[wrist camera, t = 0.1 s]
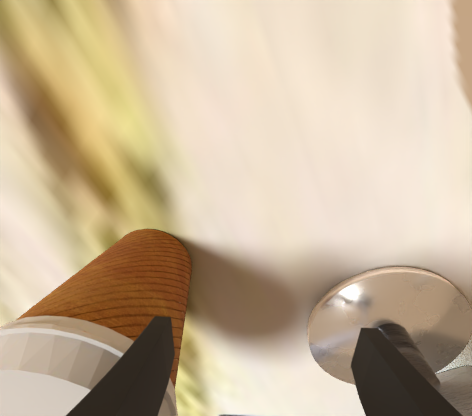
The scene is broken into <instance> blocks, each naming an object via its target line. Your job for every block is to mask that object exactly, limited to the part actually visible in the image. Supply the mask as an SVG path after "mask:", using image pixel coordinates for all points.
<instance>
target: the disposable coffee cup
mask: <svg viewBox="0 0 472 416" xmlns="http://www.w3.org/2000/svg"><path fill="white" fill-rule="evenodd" d="M191 272H192V265H191V259H190V256H189V254H188V252H187V250H186V249H185V247H184V246H183V245H182V244H181V243H180V242H179V241H178V240H177V239H176V238H174V237H172V236H171V235H169V234H167V233H164V232H162V231H158V230H154V229H142V230H136V231H133V232H131V233H129V234H127V235H125V236H124V237H123V238H122V239H121V240H119V241H118V242H117V243H115V244H114V245H113V246H111V247H110V248H109V249H108V250H106V251H105V252H104V253H102V254H101V255H100V256H98V257H97V258H96V259H94V260H93V261H92V262H90V263H89V264H88V265H86V266H85V267H84V268H83V269H81V270H80V271H79V272H78V273H76V274H75V275H73V276H72V277H71V278H70V279H68V280H67V281H66V282H64V283H63V284H62V285H61V286H59V287H58V288H57V289H55V290H54V291H53V292H51V293H50V294H49V295H48V296H46V297H45V298H43V299H42V300H41V301H40V302H38V303H37V304H36V305H34V306H33V307H32V308H31V309H29V310H28V311H27V312H26V313H24V314H23V315H22V316H21V317H19V318H18V319H17V320H15V321H12V322H9V323H7V324H5V325H3V326H1V327H0V416H66V415H67V414H68V413H69V412H70V411H71V410H72V409H73V408H74V407H75V406H76V405H77V404H78V403H79V402H80V401H81V400H82V399H83V398H84V397H85V396H86V395H87V394H88V393H89V392H90V391H91V390H92V388H93V387H94V386H95V385H96V384H97V383H98V382H99V381H100V380H101V379H102V378H103V377H104V376H105V375H106V374H107V373H108V371H109V370H110V369H111V368H112V367H113V366H114V365H115V363H116V362H117V361H118V360H119V359H120V358H121V357H122V355H123V354H124V353H125V352H126V351H127V350H128V348H129V347H130V346H131V345H132V344H133V342H134V341H135V340H136V339H137V338H138V336H139V335H140V334H141V333H142V331H143V330H144V329H145V328H146V326H147V325H148V324H149V322H150V321H151V320H152V319H153V318H154V317H155V316H163V317H171V322H172V332H173V341H174V350H175V356H174V361H173V365H172V370H171V374H170V378H169V383H168V386H167V389H166V392H165V395H164V398H163V401H162V404H161V407H160V410H159V413H158V416H178V414H177V407H176V396H175V384H176V377H177V370H178V363H179V356H180V349H181V342H182V335H183V328H184V321H185V313H186V307H187V300H188V293H189V285H190V279H191Z"/></svg>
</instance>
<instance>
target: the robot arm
mask: <svg viewBox="0 0 472 416" xmlns="http://www.w3.org/2000/svg"><path fill="white" fill-rule="evenodd" d="M174 356H175V350H174V341H173V332H172V322H171V317H163V316H155V317H154V318H153V319H152V320H151V321H150V322H149V324H148V325H147V326H146V328H145V329H144V330H143V331H142V333H141V334H140V335H139V336H138V338H137V339H136V340H135V341H134V342H133V344H132V345H131V346H130V347H129V348H128V350H127V351H126V352H125V353H124V354H123V355H122V357H121V358H120V359H119V360H118V361H117V362H116V363H115V365H114V366H113V367H112V368H111V369H110V370H109V371H108V373H107V374H106V375H105V376H104V377H103V378H102V379H101V380H100V381H99V382H98V383H97V384H96V385H95V386H94V387H93V388H92V390H91V391H90V392H89V393H88V394H87V395H86V396H85V397H84V398H83V399H82V400H81V401H80V402H79V403H78V404H77V405H76V406H75V407H74V408H73V409H72V410H71V411H70V412H69V413H68V414H67V415H66V416H158V413H159V410H160V407H161V404H162V401H163V398H164V395H165V392H166V389H167V386H168V383H169V378H170V374H171V370H172V365H173V361H174ZM351 369H352V373H353V376H354V380H355V384H356V388H357V391H358V395H359V398H360V401H361V404H362V406H363V409H364V412H365V414H366V416H463V415H462V414H461V413H459V412H458V411H457V410H456V409H455V408H454V407H453V406H452V405H451V404H450V403H449V402H448V401H447V400H446V399H445V398H444V397H443V396H442V395H441V394H440V393H439V392H438V391H437V390H436V389H435V388H434V387H433V386H432V385H431V384H430V383H429V382H428V381H427V380H426V379H425V378H424V377H423V376H422V375H421V374H420V373H419V372H418V371H417V370H416V369H415V368H414V366H413V365H412V364H411V363H410V362H409V361H408V360H407V359H406V358H405V357H404V356H403V355H402V354H401V353H400V352H399V351H398V349H397V348H396V347H395V346H394V345H393V344H392V343H391V342H390V341H389V340H388V339H387V338H386V337H385V335H384V334H383V333H382V332H381V331H380V330H379V329H378V328H361V330H360V333H359V337H358V340H357V344H356V347H355V351H354V355H353V358H352V362H351Z"/></svg>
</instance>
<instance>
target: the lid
mask: <svg viewBox="0 0 472 416" xmlns="http://www.w3.org/2000/svg"><path fill="white" fill-rule="evenodd" d="M361 328H378V329H379V330H380V331H381V332H382V333H383V334H384V335H385V337H386V338H387V339H388V340H389V341H390V342H391V343H392V344H393V345H394V346H395V347H396V348H397V349H398V351H399V352H400V353H401V354H402V355H403V356H404V357H405V358H406V359H407V360H408V361H409V362H410V363H411V364H412V365H413V366H414V368H415V369H416V370H417V371H418V372H419V373H420V374H421V375H422V376H423V377H424V378H425V379H426V380H427V381H428V382H429V383H430V384H431V385H432V386H433V387H434V388H435V389H436V390H437V391H439V389H440V385H441V384H440V381H439V379H438V378H437V376H436V375H435V373H436V372H438V371H439V370H441V369H442V368H444V367H445V366H447V365H448V364H449V363H451V362H452V361H453V360H454V359H455V358H456V357H457V356H458V355H459V354H460V353H461V352H462V350H463V349H464V348H465V346H466V345H467V343H468V341H469V339H470V336H471V334H472V309H471V307H470V305H469V303H468V301H467V300H466V298H465V297H464V296H463V294H462V293H460V292H459V291H458V290H457V289H456V288H455V287H454V286H453V285H452V284H451V283H450V282H449V281H447V280H446V279H444V278H442V277H441V276H439V275H436V274H434V273H432V272H429V271H426V270H422V269H417V268H411V267H387V268H380V269H374V270H370V271H366V272H363V273H360V274H357V275H355V276H353V277H350V278H348V279H346V280H344V281H343V282H341V283H339V284H338V285H336V286H335V287H333V288H332V289H331V290H329V291H328V292H327V293H326V294H325V295H324V296H323V297H322V298H321V299H320V300H319V302H318V303H317V304H316V305H315V307H314V309H313V311H312V312H311V315H310V317H309V320H308V325H307V337H308V342H309V347H310V350H311V353H312V355H313V357H314V359H315V361H316V362H317V363H318V364H319V366H320V367H321V368H322V369H323V370H325V371H326V372H327V373H329V374H330V375H332V376H333V377H335V378H337V379H339V380H342V381H344V382H347V383H351V384H354V385H356V384H355V380H354V376H353V373H352V369H351V362H352V358H353V355H354V351H355V347H356V344H357V340H358V337H359V333H360V330H361Z"/></svg>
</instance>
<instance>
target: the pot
mask: <svg viewBox="0 0 472 416" xmlns="http://www.w3.org/2000/svg"><path fill="white" fill-rule="evenodd" d="M435 375H436V376H437V378H438V379H439V381H440V384H441V385H440V389H439V391H438V392H439V393H440V394H441V395H442V396H443V397H444V398H445V399H446V400H447V401H448V402H449V403H450V404H451V405H452V406H453V407H454V408H455V409H456V410H457V411H458V412H459V413H461V414H462V415H463V416H472V366H462V367H459V368H455V369H452V370H448V371H445V372H441V373H438V374H435Z"/></svg>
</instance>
